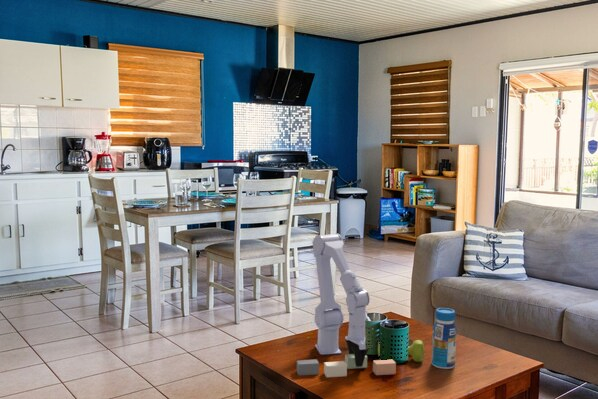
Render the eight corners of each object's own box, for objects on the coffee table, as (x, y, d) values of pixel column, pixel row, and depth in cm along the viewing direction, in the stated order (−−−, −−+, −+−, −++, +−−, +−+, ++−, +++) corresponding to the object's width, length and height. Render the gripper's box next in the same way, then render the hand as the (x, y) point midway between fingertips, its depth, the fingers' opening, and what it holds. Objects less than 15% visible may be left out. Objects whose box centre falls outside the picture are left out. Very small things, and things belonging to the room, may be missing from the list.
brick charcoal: (296, 371, 203) (296, 360, 202) (316, 370, 204) (316, 359, 203) (298, 375, 199) (298, 364, 199) (318, 374, 200) (319, 363, 200)
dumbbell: (377, 362, 212) (378, 342, 211) (377, 354, 220) (378, 335, 219) (424, 365, 210) (425, 345, 209) (422, 356, 218) (423, 337, 217)
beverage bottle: (428, 360, 214) (430, 306, 212) (450, 360, 214) (453, 306, 212) (435, 369, 205) (437, 314, 203) (458, 369, 206) (461, 313, 204)
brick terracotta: (372, 371, 204) (373, 360, 203) (392, 370, 205) (392, 359, 205) (376, 375, 200) (376, 364, 200) (395, 374, 202) (395, 363, 201)
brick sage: (345, 365, 209) (345, 354, 208) (364, 364, 210) (364, 353, 210) (347, 369, 205) (347, 358, 205) (366, 367, 207) (367, 356, 206)
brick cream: (324, 373, 201) (324, 362, 201) (343, 372, 203) (344, 361, 202) (326, 377, 198) (326, 366, 197) (346, 376, 199) (347, 365, 199)
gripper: (340, 318, 213) (339, 355, 214) (351, 332, 198) (350, 370, 200) (359, 317, 214) (358, 354, 215) (371, 331, 200) (370, 369, 201)
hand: (356, 362), depth 208 cm, fingers open, 7 cm apart
